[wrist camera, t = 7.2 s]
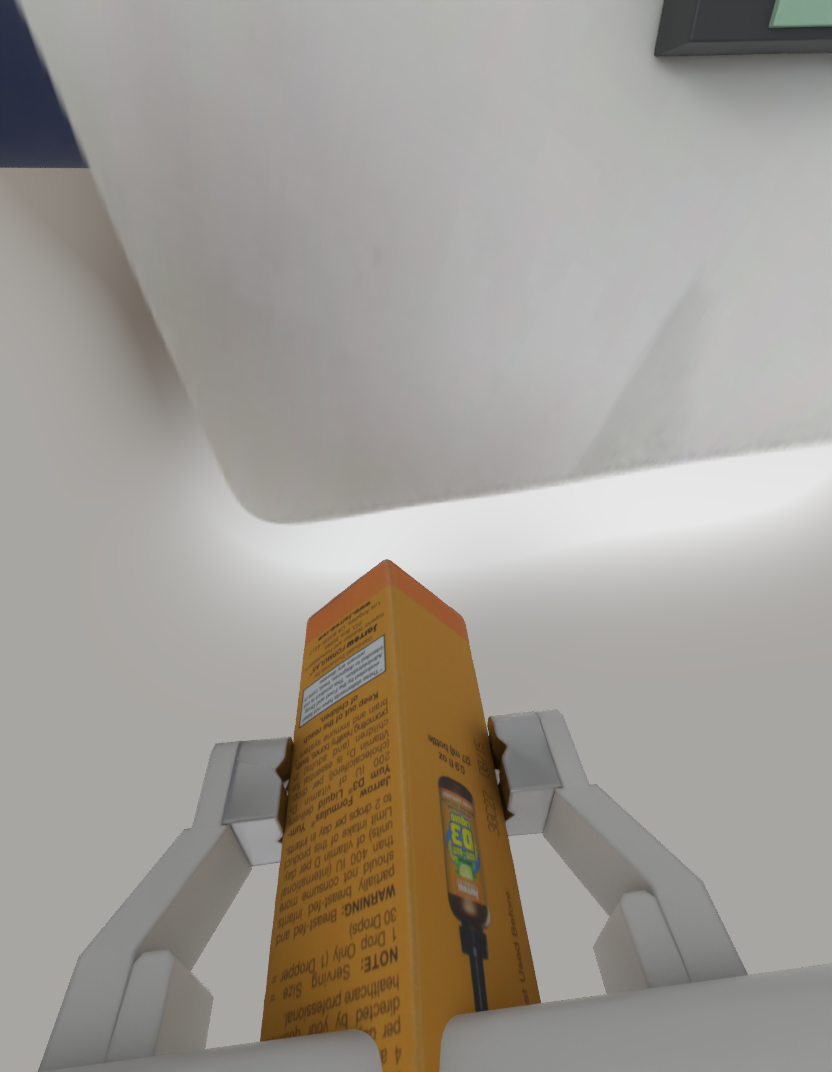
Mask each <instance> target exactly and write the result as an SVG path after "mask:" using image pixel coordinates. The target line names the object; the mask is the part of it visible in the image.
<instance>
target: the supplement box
mask: <svg viewBox="0 0 832 1072" xmlns="http://www.w3.org/2000/svg"><path fill="white" fill-rule="evenodd" d="M293 744H294V745H293V755H292V765H291V775H290V779H289V787H288V805H287V814H286V823H285V831H284V835H283V840H282V850H281V861H280V868H279V877H278V886H277V894H276V901H275V912H274V913H275V914H274V921H273V930H272V937H271V945H270V955H269V965H268V975H267V986H266V994H265V1000H264V1011H263V1020H262V1029H261V1038H260V1042H261V1041H268V1040H276V1039H283V1038H290V1037H298V1036H305V1035H312V1034H320V1033H327V1032H334V1031H341V1030H349V1029H357V1030H361V1031H364V1032H365V1033H367V1034H368V1035H370V1036H371V1037H372V1039H373V1040H374V1041H375V1043H376V1044H377V1047H378V1050H379V1053H380V1059H381V1065H382V1071H383V1072H439V1069H440V1050H441V1040H442V1035H443V1032H444V1029H445V1027H446V1024H447V1023H448V1021H449V1020H450V1019H451V1018H452V1017H453V1016H455V1015H459V1014H466V1013H473V1012H480V1011H488V1010H495V1009H502V1008H510V1007H517V1006H524V1005H532V1004H539V1003H541V1001H540V996H539V991H538V986H537V981H536V976H535V970H534V966H533V961H532V955H531V951H530V945H529V941H528V936H527V931H526V927H525V921H524V916H523V911H522V906H521V901H520V895H519V890H518V885H517V880H516V874H515V869H514V864H513V860H512V855H511V850H510V845H509V839H508V834H507V828H506V823H505V818H504V813H503V809H502V804H501V799H500V794H499V789H498V784H497V778H496V773H495V768H494V763H493V757H492V753H491V749H490V743H489V738H488V732H487V727H486V723H485V718H484V713H483V708H482V703H481V698H480V693H479V689H478V684H477V678H476V673H475V669H474V664H473V660H472V656H471V650H470V646H469V640H468V634H467V629H466V624H465V621H464V619H463V618H462V616H461V615H460V614H459V613H457V612H456V611H455V610H454V609H453V608H451V607H449V606H448V605H447V604H445V603H444V602H443V601H442V600H440V599H439V598H438V597H437V596H435V595H434V594H433V593H432V592H430V591H429V590H428V589H426V588H425V587H424V586H422V585H421V584H420V583H418V582H417V581H416V580H415V579H414V578H412V577H411V576H410V575H408V574H407V573H406V572H404V571H403V570H402V569H401V568H399V567H398V566H397V565H396V564H394V563H393V562H392V561H390V560H383V561H382V562H381V563H379V564H378V565H377V566H375V567H374V568H373V569H371V570H370V571H369V572H367V573H366V574H365V575H363V576H362V577H360V578H359V579H358V580H357V581H355V582H354V583H353V584H351V585H350V586H349V587H348V588H347V589H345V590H344V591H343V592H341V593H340V594H339V595H337V596H336V597H335V598H333V599H332V600H331V601H330V602H328V603H327V604H326V605H325V606H324V607H322V608H321V609H320V610H319V611H317V612H316V613H315V614H313V615H312V616H311V617H310V618H309V620H308V621H307V630H306V640H305V648H304V655H303V665H302V673H301V682H300V692H299V699H298V709H297V717H296V725H295V731H294V742H293Z"/></svg>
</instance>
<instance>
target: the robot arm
mask: <svg viewBox="0 0 832 1072" xmlns="http://www.w3.org/2000/svg"><path fill="white" fill-rule="evenodd" d="M488 730H489V736H488V738H489V743H490V749H491V753H492V757H493V763H494V768H495V773H496V778H497V784H498V789H499V794H500V799H501V804H502V809H503V813H504V818H505V823H506V828H507V834H508V836H513V835H524V834H537V833H543V836H544V837H545V838H546V840H547V841H548V842H549V843H550V845H551V846H552V847H553V848H554V849H555V851H556V852H557V853H558V854H559V855H560V857H561V858H562V859H563V860H564V862H565V863H566V864H567V865H568V867H569V868H570V869H571V870H572V871H573V873H574V874H575V875H576V876H577V878H578V879H579V880H580V881H581V882H582V884H583V885H584V886H585V887H586V888H587V890H588V891H589V892H590V893H591V895H592V896H593V897H594V898H595V900H596V901H597V902H598V903H599V904H600V906H601V907H602V908H603V909H604V910H605V912H606V913H607V914H608V915H609V919H608V921H607V922H606V924H605V926H604V928H603V930H602V931H601V933H600V935H599V937H598V939H597V941H596V943H595V945H594V947H593V948H594V952H595V956H596V959H597V962H598V966H599V969H600V973H601V976H602V980H603V983H604V986H605V989H606V993H607V994H605V995H598V996H590V997H583V998H576V999H568V1000H561V1001H554V1002H546V1003H539V1004H532V1005H524V1006H517V1007H510V1008H502V1009H495V1010H488V1011H480V1012H473V1013H466V1014H459V1015H455V1016H453V1017H452V1018H451V1019H450V1020H449V1021H448V1023H447V1024H446V1027H445V1029H444V1032H443V1035H442V1040H441V1050H440V1069H439V1072H832V964H824V965H817V966H809V967H802V968H795V969H787V970H780V971H773V972H765V973H758V974H751V975H748V974H747V972H746V970H745V968H744V966H743V963H742V961H741V959H740V957H739V955H738V953H737V951H736V949H735V947H734V945H733V943H732V941H731V939H730V937H729V935H728V933H727V931H726V928H725V926H724V924H723V922H722V920H721V918H720V916H719V914H718V912H717V910H716V908H715V906H714V904H713V902H712V900H711V898H710V896H709V893H708V891H707V889H706V887H705V885H704V883H703V882H702V880H701V879H700V878H698V877H697V876H696V875H695V874H694V873H693V872H692V871H691V870H690V869H689V868H687V867H686V866H685V865H684V864H683V863H682V862H681V861H680V860H679V859H677V858H676V857H675V856H674V855H673V854H672V853H671V852H670V851H669V850H668V849H667V848H666V847H665V846H663V845H662V844H661V843H660V842H659V841H658V840H657V839H656V838H655V837H654V836H653V835H651V834H650V833H649V832H648V831H647V830H646V829H645V828H644V827H643V826H642V825H641V824H639V823H638V822H637V821H636V820H635V819H634V818H633V817H632V816H631V815H630V814H628V813H627V812H626V811H625V810H624V809H623V808H622V807H621V806H620V805H618V803H616V802H615V801H614V800H613V799H612V798H611V797H610V796H609V795H608V794H607V793H606V792H605V791H603V790H602V789H601V788H600V787H599V786H598V785H597V784H594V785H590V784H589V782H588V780H587V777H586V774H585V772H584V769H583V767H582V764H581V761H580V758H579V756H578V753H577V751H576V748H575V745H574V743H573V740H572V738H571V735H570V732H569V730H568V727H567V725H566V722H565V719H564V717H563V715H562V713H561V712H560V711H559V710H556V709H555V710H546V711H537V712H534V711H532V712H523V713H516V714H507V715H498V716H490V717H489V719H488ZM293 745H294V744H293V741H292V739H291V737H282V738H271V739H261V740H251V741H236V742H227V743H218V744H215V746H214V748H213V750H212V752H211V754H210V758H209V762H208V766H207V770H206V774H205V778H204V782H203V786H202V790H201V794H200V798H199V802H198V806H197V810H196V814H195V818H194V822H193V826H192V828H190V829H184V830H183V832H182V833H181V834H180V835H179V836H178V837H177V839H176V840H175V841H174V842H173V844H172V845H171V846H170V847H169V848H168V850H167V851H166V852H165V853H164V854H163V856H162V857H161V858H160V859H159V861H158V862H157V863H156V864H155V865H154V867H153V868H152V869H151V870H150V871H149V873H148V874H147V875H146V876H145V877H144V879H143V880H142V881H141V882H140V884H139V885H138V886H137V887H136V888H135V890H134V891H133V892H132V893H131V894H130V896H129V897H128V898H127V899H126V900H125V902H124V903H123V904H122V905H121V907H120V908H119V909H118V910H117V911H116V913H115V914H114V915H113V916H112V917H111V919H110V920H109V921H108V922H107V923H106V925H105V926H104V927H103V928H102V930H101V931H100V932H99V933H98V934H97V936H96V937H95V938H94V939H93V941H92V942H91V943H90V944H89V945H88V946H87V948H86V949H85V950H84V951H83V953H82V954H81V955H80V956H79V958H78V960H77V963H76V966H75V969H74V972H73V975H72V977H71V980H70V983H69V986H68V989H67V991H66V994H65V998H64V1000H63V1003H62V1006H61V1008H60V1011H59V1014H58V1017H57V1019H56V1022H55V1025H54V1028H53V1031H52V1033H51V1036H50V1039H49V1042H48V1045H47V1047H46V1050H45V1053H44V1056H43V1059H42V1061H41V1064H40V1067H39V1070H38V1072H383V1071H382V1065H381V1059H380V1053H379V1050H378V1047H377V1044H376V1043H375V1041H374V1040H373V1039H372V1037H371V1036H370V1035H368V1034H367V1033H365V1032H364V1031H361V1030H357V1029H349V1030H341V1031H334V1032H327V1033H320V1034H312V1035H305V1036H298V1037H290V1038H283V1039H276V1040H268V1041H261V1042H254V1043H246V1044H239V1045H232V1046H224V1047H217V1048H210V1049H205V1047H206V1041H207V1034H208V1028H209V1022H210V1015H211V1009H212V1003H213V996H212V995H211V992H210V991H209V989H208V988H207V987H206V986H205V985H203V983H202V982H201V981H200V980H199V979H198V978H197V977H196V976H195V975H194V974H193V973H192V972H191V970H192V968H193V966H194V965H195V963H196V961H197V960H198V958H199V956H200V955H201V953H202V952H203V950H204V948H205V947H206V945H207V943H208V941H209V940H210V938H211V936H212V935H213V933H214V932H215V930H216V928H217V926H218V925H219V923H220V922H221V920H222V918H223V917H224V915H225V913H226V911H227V910H228V908H229V907H230V905H231V903H232V902H233V900H234V898H235V897H236V895H237V893H238V892H239V890H240V888H241V887H242V885H243V883H244V882H245V880H246V878H247V877H248V875H249V873H250V872H251V870H252V868H251V866H259V865H265V864H272V863H280V861H281V850H282V840H283V835H284V831H285V823H286V814H287V805H288V787H289V779H290V775H291V765H292V755H293Z"/></svg>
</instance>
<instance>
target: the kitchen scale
mask: <svg viewBox="0 0 832 1072" xmlns="http://www.w3.org/2000/svg"><path fill="white" fill-rule="evenodd" d="M823 52H832V0H664V6H663V11H662V16H661V22H660V27H659V33H658V38H657V44H656V49H655V56H693V55H737V54H780V53H823Z"/></svg>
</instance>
